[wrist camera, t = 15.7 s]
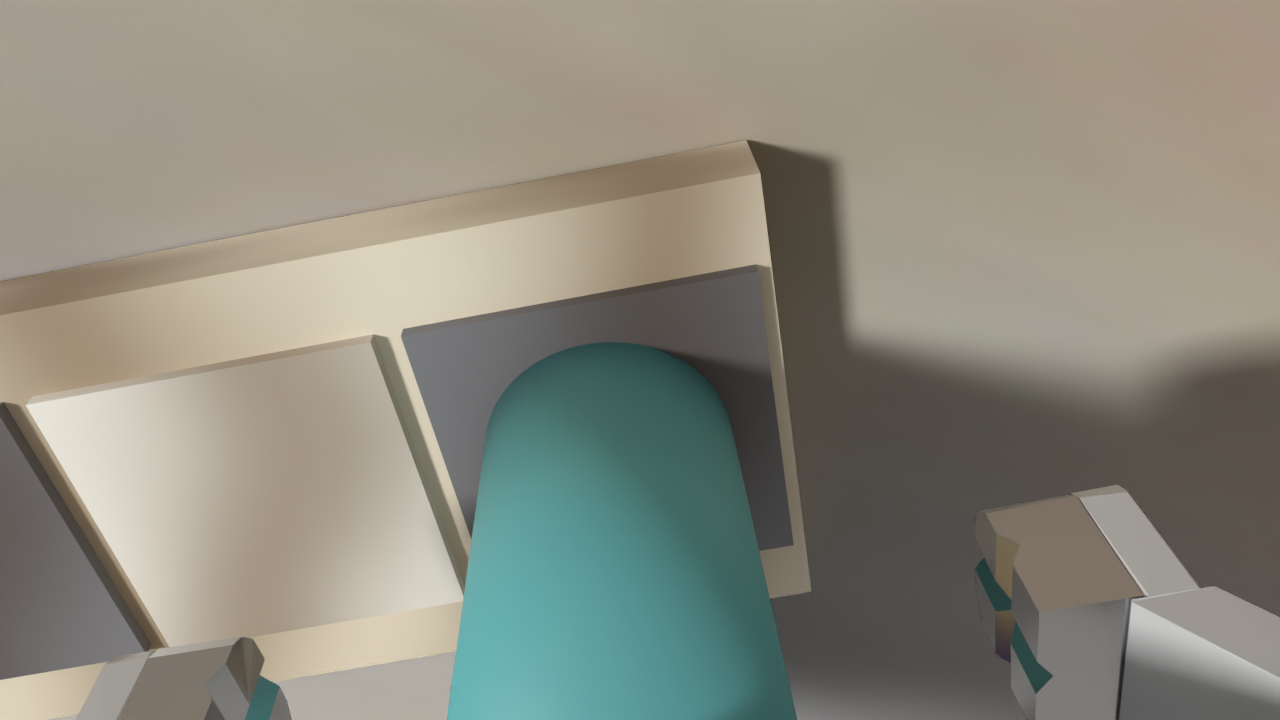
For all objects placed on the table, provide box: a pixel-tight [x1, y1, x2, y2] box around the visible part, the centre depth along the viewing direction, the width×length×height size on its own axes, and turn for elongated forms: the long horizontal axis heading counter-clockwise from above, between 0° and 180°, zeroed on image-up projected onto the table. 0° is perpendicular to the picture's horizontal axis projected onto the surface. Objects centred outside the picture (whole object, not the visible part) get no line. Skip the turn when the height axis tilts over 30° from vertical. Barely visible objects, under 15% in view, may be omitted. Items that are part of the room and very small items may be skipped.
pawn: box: [447, 342, 797, 720], centre depth 10 cm, size 4×4×9 cm
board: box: [0, 140, 812, 720], centre depth 15 cm, size 20×7×1 cm, turn 100°
